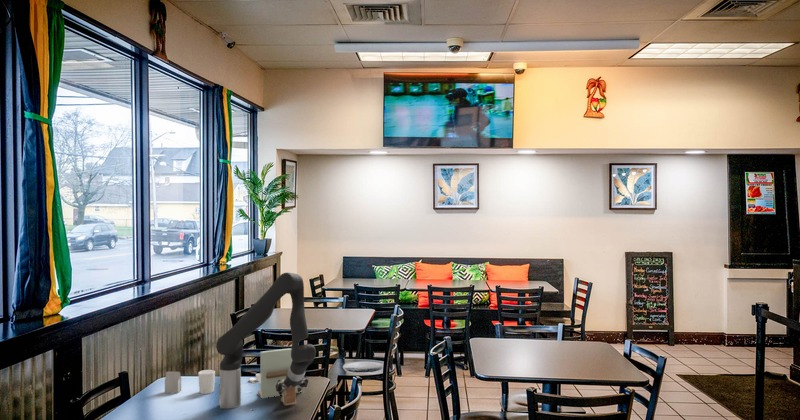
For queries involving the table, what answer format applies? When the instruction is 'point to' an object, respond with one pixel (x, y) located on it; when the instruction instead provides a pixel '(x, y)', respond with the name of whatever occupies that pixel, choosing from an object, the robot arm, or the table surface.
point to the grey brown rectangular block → (172, 382)
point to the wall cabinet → (289, 396)
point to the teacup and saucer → (258, 378)
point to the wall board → (273, 370)
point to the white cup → (206, 381)
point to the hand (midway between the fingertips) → (289, 391)
